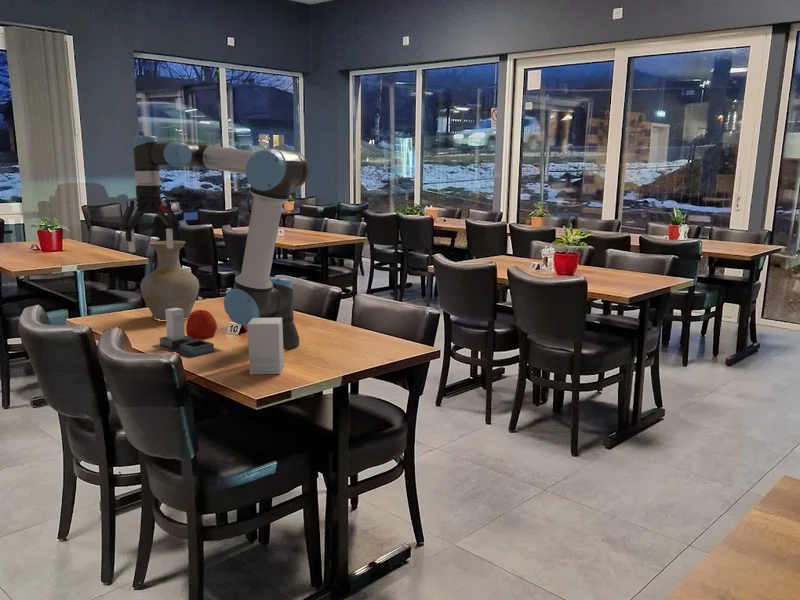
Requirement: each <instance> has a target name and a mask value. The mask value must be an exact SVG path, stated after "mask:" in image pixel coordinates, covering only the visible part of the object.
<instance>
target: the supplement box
mask: <svg viewBox="0 0 800 600" xmlns="http://www.w3.org/2000/svg"><path fill="white" fill-rule="evenodd" d="M246 328H247V345H248V346H247V349H248V364H249V375H280V374H281V372H282V371H283V368H284V367H285V360H284V359H285V355H284V349H283V327H282V318H252V319H251V321H250V322H249V323H248V324H247V325H246Z"/></svg>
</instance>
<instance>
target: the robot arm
mask: <svg viewBox="0 0 800 600" xmlns="http://www.w3.org/2000/svg"><path fill="white" fill-rule="evenodd" d="M132 140H133V141H132V145H133V146H132V152H133V162H134V163H133V164H134V180H135V182H134V183H135V184H137V185H136V186H135V196H136V200H133V199H127V201H126V207H125V211H124V213H123V216H122V217H121V220H120V223H119V226H118V229H119V230H122V231H124V233H125V234H124V235H125V241H126V242H128V243H127V244H128V252H130V253H136V242H135V240H136V239H135V237H136V236H135V231H133V229H135V228H134V227H135V226H136V225H137V224H138V223H139V220H140V219H141V217H143V216H144V215H145V214H147V215H149V214H156V215H157V217H159V218H160V220H161V221H162V222H163V223H164V224H165V226H166V227H167V228H165V235H166V237H165V238H166V241H167V248H171V249H173V241H174V239H175V236H176V235H175V233H176V232H175V230H176V229H177V227H180V226H181V224H180V222H179V220H178V218H177V217H176V214H175V212H174V211H173V207H172V206H171V200H170V199H167V198H163V199H161V195H162V194H161V186H160V185H159V184H161V178H160V167H174V168H177V167H178V168H185V167H186V168H187V167H193V168H202V169H211V170H217V171H223V172H229V173H230V172H231V173H236V174H241V175H242V174H243V175H245V178H246V180H247V182H248V185H250V188H249V193H250V194H251V195H252V197H253V201H252V207H251V213H250V220H249V225H248V232H247V237H246V241H245V242H246V243H245V249H244V254H243V260H242V261H243V262H242V266H241V272H240V273H239V274H238V275H237V276H235V278H234V282H233V288H232V289H230V290H229V291H228V292H226V294H225V295H224V298H223V307H224V311H225V313H226V314H227V316H228V318H229V319H230V320H231V321H232V322H233V323H235V324H237V325H239V326H247V324H248V323H249V322H250V321H251V319H252V318H282V327H283V351H284V350H285V351H287V350H291V349H295V348H297V347H299V346H300V336H299V334H298V330H297V328H296V325H295V322H294V319H295V318H294V317H295V316H294V288H293V287H294V286H293V281H292V279H290V278H289V277H279V276H270V275H271V271H272V270H271V269H272V265H273V259H274V254H275V249H276V248H275V247H276V243H277V237H278V232H279V228H280V227H279V226H280V221H281V216H282V212H283V205H284V204H285V203H286V202H288V201H289V199H290V196H291V195H290V194H291V190H294V189H297V188H298V189H299V188H300V187H302V186H303V185H304V184H305V183H306V182H307V180H308V178H309V176H310V165H309V163H308V160H307V158H306V157H305V156H304V155H303V154H301V153H300V152H299V151H295V150H288V149H287V150H285V149H276V148H275V149H274V148H266V149H260V150H258V151H254V150H245V149H239V148H231V147H223V146H217V145H216V146H215V145H209V144H206V143H190V142H189V143H188V142H180V141H168V142H167V141H164V142H163V141H162V142H161V141H160V142H159V141H158V140H159V139H158V136H154V135H135V136H134V137H133V139H132ZM136 206H137V209H136V210H135V207H136ZM161 206H162V207H163V208H164V210H162V208H161ZM134 210H135V212H134ZM164 211H165V213H164ZM133 212H134V214H133ZM132 215H133V216H132Z"/></svg>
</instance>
